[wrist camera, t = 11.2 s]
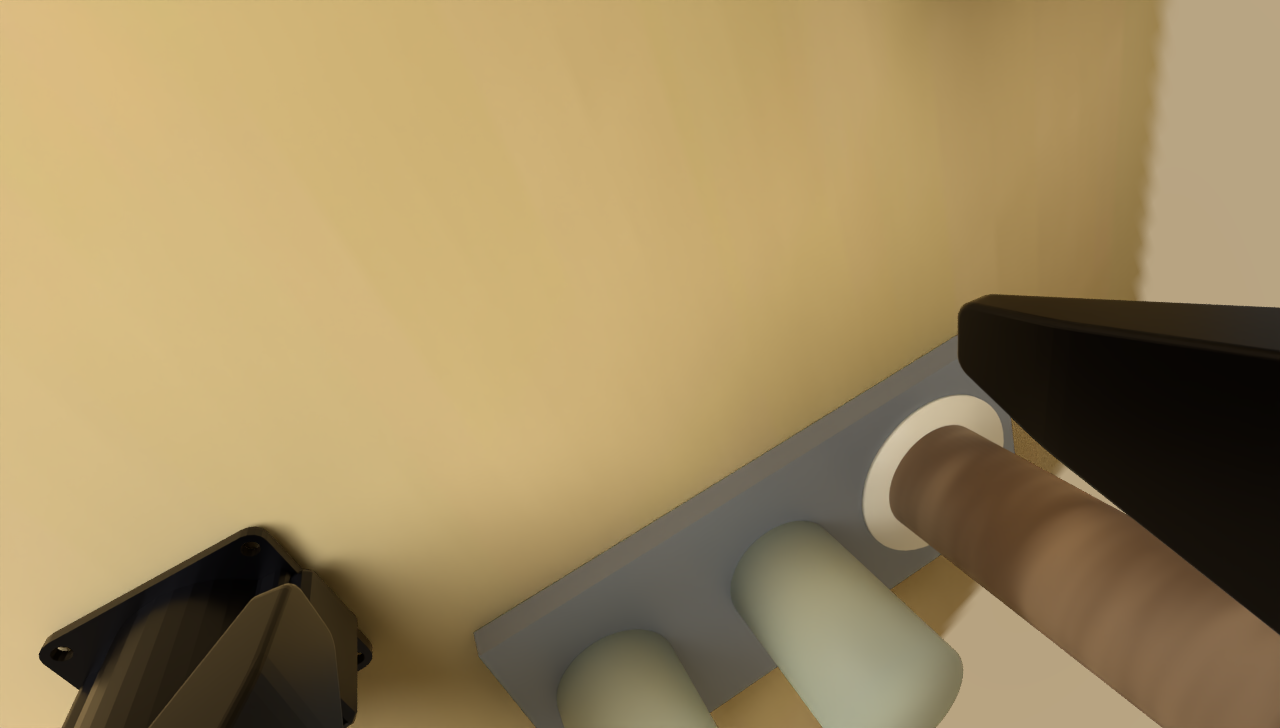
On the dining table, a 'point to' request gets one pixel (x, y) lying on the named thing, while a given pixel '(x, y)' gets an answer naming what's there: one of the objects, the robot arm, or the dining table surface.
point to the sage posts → (784, 648)
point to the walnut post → (1091, 583)
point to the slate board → (743, 542)
